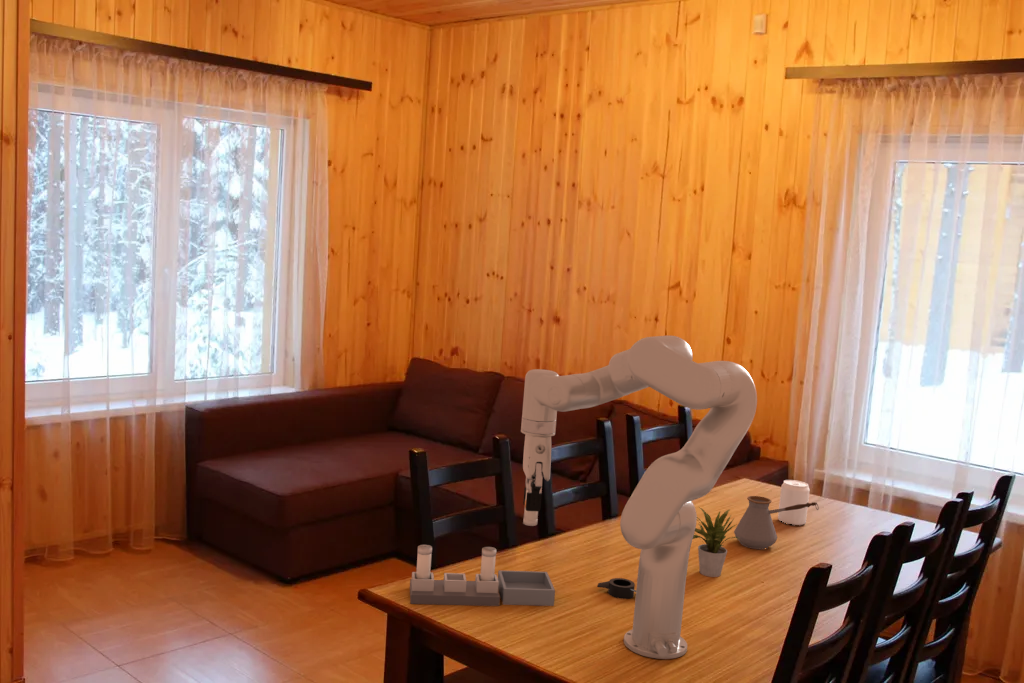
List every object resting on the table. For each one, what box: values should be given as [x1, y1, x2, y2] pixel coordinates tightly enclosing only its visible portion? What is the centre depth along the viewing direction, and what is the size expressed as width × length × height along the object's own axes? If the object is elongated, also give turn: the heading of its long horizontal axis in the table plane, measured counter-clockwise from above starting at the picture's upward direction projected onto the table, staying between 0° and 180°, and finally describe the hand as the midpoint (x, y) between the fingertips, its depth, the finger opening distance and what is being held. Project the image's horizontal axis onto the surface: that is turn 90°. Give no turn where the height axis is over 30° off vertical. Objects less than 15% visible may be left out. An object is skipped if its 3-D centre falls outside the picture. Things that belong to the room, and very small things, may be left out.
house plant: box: [693, 506, 739, 578], centre depth 242 cm, size 14×14×16 cm
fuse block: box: [409, 571, 501, 607], centre depth 213 cm, size 9×19×4 cm, turn 97°
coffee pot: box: [733, 495, 820, 550], centre depth 264 cm, size 21×12×15 cm, turn 61°
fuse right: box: [480, 546, 497, 581], centre depth 214 cm, size 3×3×9 cm
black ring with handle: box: [596, 577, 636, 600], centre depth 223 cm, size 8×10×3 cm
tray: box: [497, 569, 556, 607], centre depth 217 cm, size 11×11×4 cm
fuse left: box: [415, 544, 433, 579], centre depth 212 cm, size 3×3×9 cm
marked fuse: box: [522, 482, 539, 527], centre depth 215 cm, size 3×3×9 cm
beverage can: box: [777, 479, 811, 526], centre depth 291 cm, size 8×8×12 cm
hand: (531, 507), depth 215 cm, fingers closed on marked fuse, 3 cm apart
